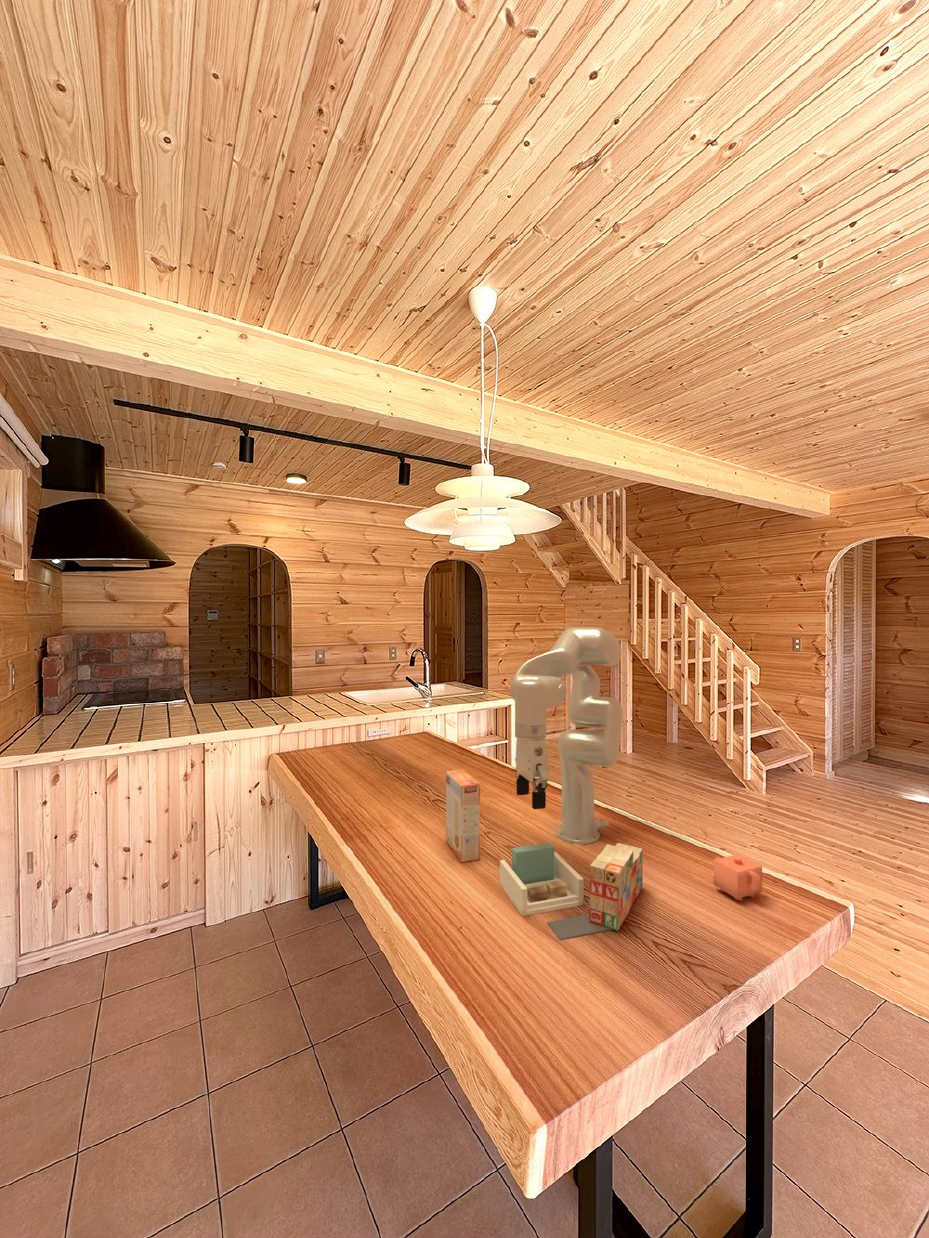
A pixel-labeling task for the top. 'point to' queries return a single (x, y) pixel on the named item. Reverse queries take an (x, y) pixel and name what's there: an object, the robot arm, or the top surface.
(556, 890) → the pine offcut
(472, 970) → the top surface
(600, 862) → the stack of blocks
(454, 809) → the cracker box
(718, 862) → the pink cube teapot
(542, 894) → the walnut offcut
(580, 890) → the rack
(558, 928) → the charcoal mat
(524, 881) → the teal panel
